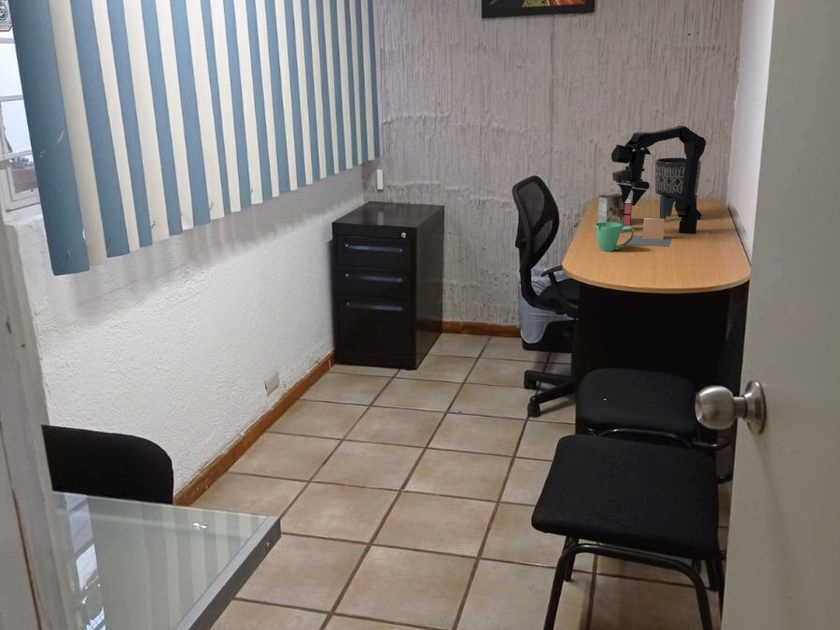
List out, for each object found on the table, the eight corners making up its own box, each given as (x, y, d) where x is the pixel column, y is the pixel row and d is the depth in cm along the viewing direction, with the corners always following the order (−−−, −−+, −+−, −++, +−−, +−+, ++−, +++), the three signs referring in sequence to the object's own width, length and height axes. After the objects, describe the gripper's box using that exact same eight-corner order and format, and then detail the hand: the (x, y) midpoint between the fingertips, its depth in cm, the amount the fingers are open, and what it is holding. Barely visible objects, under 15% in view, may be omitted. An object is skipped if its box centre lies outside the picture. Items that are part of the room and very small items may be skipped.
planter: (700, 216, 371) (705, 158, 363) (692, 224, 355) (697, 163, 347) (656, 214, 380) (660, 156, 372) (647, 221, 364) (650, 162, 356)
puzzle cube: (630, 225, 357) (631, 203, 354) (607, 225, 359) (608, 202, 356) (629, 221, 366) (631, 199, 363) (607, 221, 368) (608, 199, 365)
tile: (663, 238, 328) (664, 218, 325) (663, 239, 326) (664, 219, 323) (643, 237, 330) (644, 218, 328) (642, 238, 328) (643, 219, 326)
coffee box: (615, 230, 347) (616, 193, 343) (624, 233, 342) (626, 195, 337) (596, 232, 344) (598, 195, 339) (605, 235, 338) (607, 197, 334)
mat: (671, 238, 329) (671, 237, 329) (669, 248, 313) (669, 246, 313) (631, 236, 335) (631, 235, 334) (626, 246, 318) (626, 244, 318)
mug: (592, 252, 311) (593, 226, 308) (596, 246, 319) (597, 221, 316) (632, 254, 306) (633, 228, 303) (634, 248, 315) (635, 223, 312)
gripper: (607, 160, 329) (600, 198, 333) (627, 164, 311) (619, 205, 315) (633, 163, 331) (625, 201, 335) (653, 168, 313) (645, 208, 317)
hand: (628, 204), depth 326 cm, fingers open, 9 cm apart
